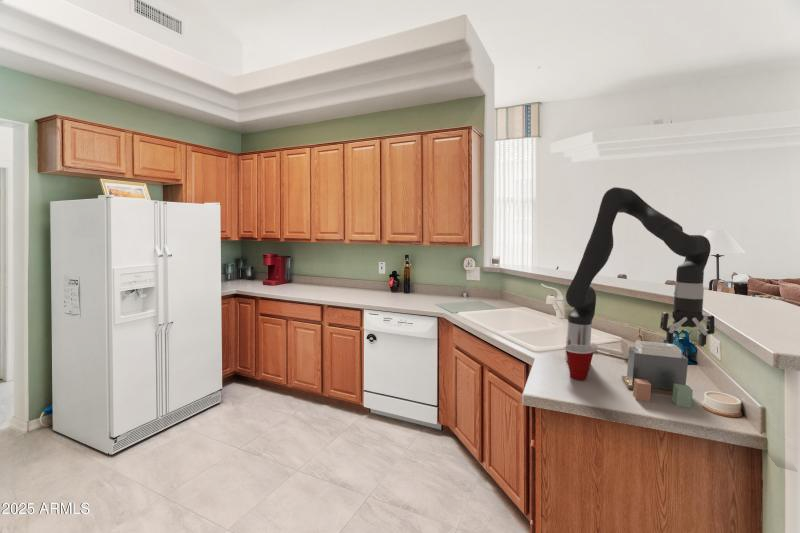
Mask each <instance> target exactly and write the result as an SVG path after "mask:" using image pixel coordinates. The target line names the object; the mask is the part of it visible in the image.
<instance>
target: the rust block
mask: <svg viewBox="0 0 800 533" xmlns="http://www.w3.org/2000/svg"><path fill="white" fill-rule="evenodd" d="M651 393H652V392H651V384H650V383H649V381H648V380H642V379H634V388H633V391H632V396H633V398H634V397H635V398H634V399H635V401H639V400H642V402H646V401H649V402H648V403H650V402H651Z"/></svg>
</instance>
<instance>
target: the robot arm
mask: <svg viewBox="0 0 800 533" xmlns="http://www.w3.org/2000/svg"><path fill="white" fill-rule="evenodd" d="M619 213H622V214H627V215H629V216H632V217H634V218H635V219H637V220H638V221H639V222H640V223H641V224H642V225H643V227H644V228H645V229H646V230H647V231H648V232H649V233H650V234H652V235H654V236H655V237H656V238H658V239H659V240H661V241H662V242H664V244H665V245H666V246H667V247H668V248H669V249H670V251H671V252H673V253H674V254H676V255H678V256H680V257H683V258H685V259H684V260H683V263H682V264H679V265H678V266H677V269H676V275H675V277H676V278H675V279H676V280H675V286H674V291H673V295H674V296H673V297H674V298H673V311H672V312H666V311H662V312H661V318H660V325H659V328H660V330H662V331H664V332H665V333H666V336H665V339H666V342H667V344H674V332H675V331H676V330H677V329H679V328H680V327H682V328H695V329H696V330H698V332H699V333H698V346H699V347H705V346H706V344H707V338H708V337H707V336H708V335H714V334H715V331H716V330H715V316H714V315H712V314H709V313H708V314H704V313H703V308H704V307H703V305H704V290H705V289H704V276H705V275H704V274H705V269H706V266H707V263H708V260H709V257H710V253H711V242H710V240H709V238H707V237H706V236H704V235H701V234H695V235H694V234H687V233H685V232H684V230H683V226H682V225H681V224H680V223H677V221H675V220H673V219H671V218H669V217H668V216H666V215H664V214H663V213H662V212H660V211H658V210H656V209H655V208H654V207H652V206H651V205H649V204H648V203H647V202H646V201H645V200H644V199H642V198H641V196H640V195H639V194H637V193H636V192H635V191H633V189H629V188H625V187H617V186H616V187H615V186H614V187H611V188H608V190H607V189H606V191H605V193H604V195H603V196H602V199H601V202H600V205H599V208H598V213H597V216H596V220H595V222H594V226H593V229H592V232H591V234H590V237H589V239H588V242H587V243H586V247H585V249H584V252H583V255H582V258H581V260H580V261H579V265H578V268H577V270H576V273H575V275H574V277H573V278H572V280H571V282H570V284H569V286H568V288H567V290H566V293H565V300H566V303H567V305H568V306H570V307H571V308H573V309H572V311H571V312H570V313H569V314H568V318H567V331H566V332H567V333H566V338H565V339H566V340H565V346H567V345H585V346H590V343H591V342H592V341H591V339H592V323H593V319H594V317H595V312H596V304H597V294H596V291H595V289H594V288H593V287H592V286H591V284H592V282H593V280H594V279H595V277H596V276H597V275H598V274H599V272H600V271H601V270H602V269H603V268H604V267H605V265H606V264H607V262H608V260H609V259H610V256H611V253H612V251H613V249H614V233H613V229H614V228H613V225H614V222H615V220H616V217H617V215H618V214H619ZM671 318H672V319H673V321H672V322H671V323H669V324H670V325H669V326H668V322H669V320H670V319H671ZM703 320H704V321H705V325H706V329H705V328H704V326H703V325H702V323H701V322H702V321H703ZM564 357H565V361H566V362H567V363H568V358H567V353H566V352H565V355H564Z"/></svg>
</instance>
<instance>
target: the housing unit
mask: <svg viewBox="0 0 800 533" xmlns="http://www.w3.org/2000/svg"><path fill="white" fill-rule="evenodd" d="M628 347H629V356H628V359H627V370H626V375H621V380H622V382H623V383H624V385H625V386H626V389H628V390H633V388H634V379H642V380H648V381H649V383H650V384H651V393H656V394H662V395H663V394H664V395H669V396H673V385H674V384H681V385H687V375H688V364H689V358H688V357H686V356H685V355H684V354H683V350H681V349H680V348H679V347H678V346H677V345H675V344H674V343H673V344H669V343H668V342H667V343H666V342H655V341H654V342H653V341H645V340H635V345H634V346H628Z"/></svg>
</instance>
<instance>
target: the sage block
mask: <svg viewBox="0 0 800 533" xmlns="http://www.w3.org/2000/svg"><path fill="white" fill-rule="evenodd" d="M671 396H672V397H671V400H672V401H671V402H672V403H675V404H674V405H675V406H676V407H682V408H688V407H691V408H692V401H693V389H692V388H691V387H690V386H689V385H688V384H686V385H681V384H674V385H673V395H671Z"/></svg>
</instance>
